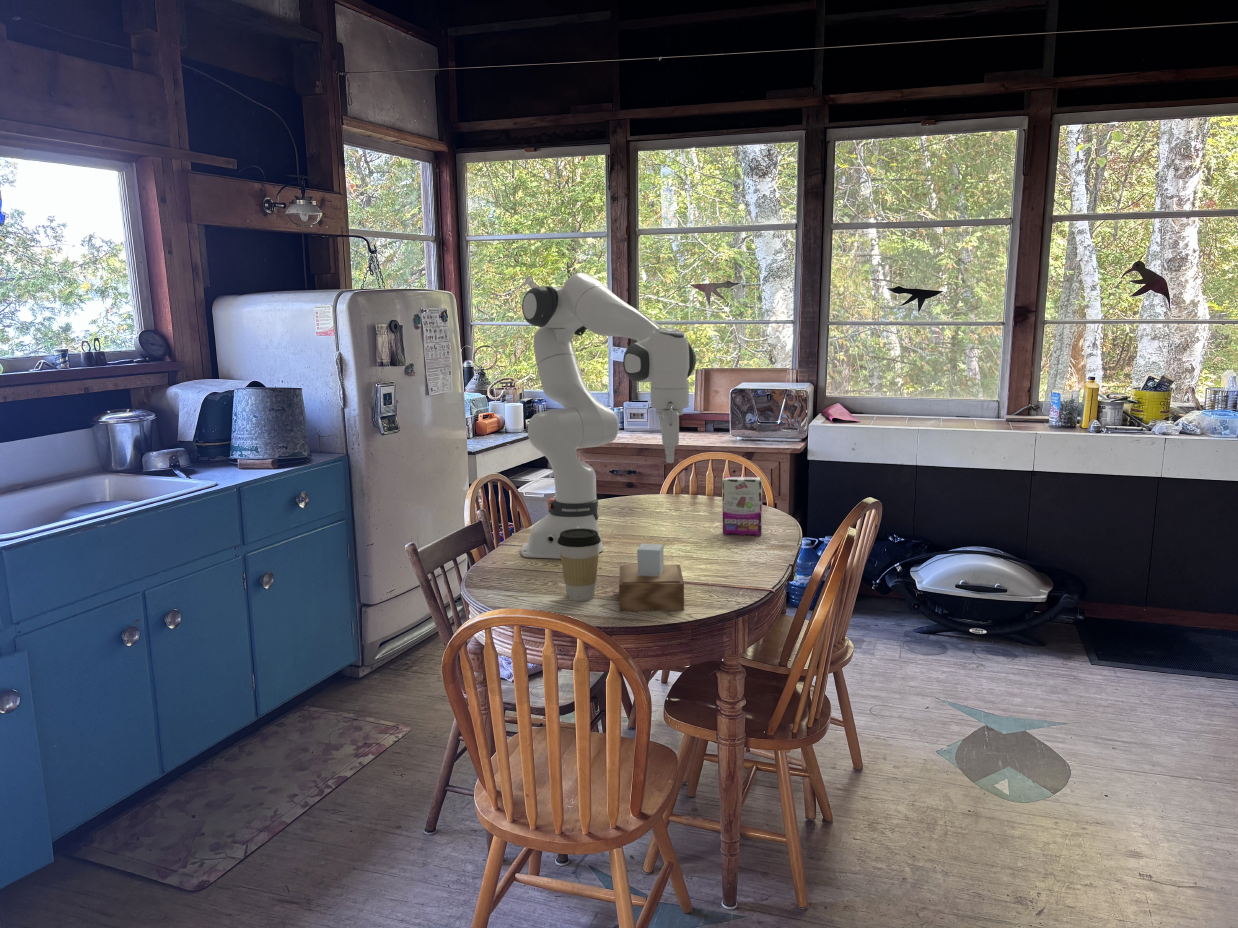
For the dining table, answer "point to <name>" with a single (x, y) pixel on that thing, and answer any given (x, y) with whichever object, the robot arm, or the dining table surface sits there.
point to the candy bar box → (742, 506)
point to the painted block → (650, 560)
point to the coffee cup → (579, 562)
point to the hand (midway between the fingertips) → (669, 458)
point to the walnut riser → (651, 589)
